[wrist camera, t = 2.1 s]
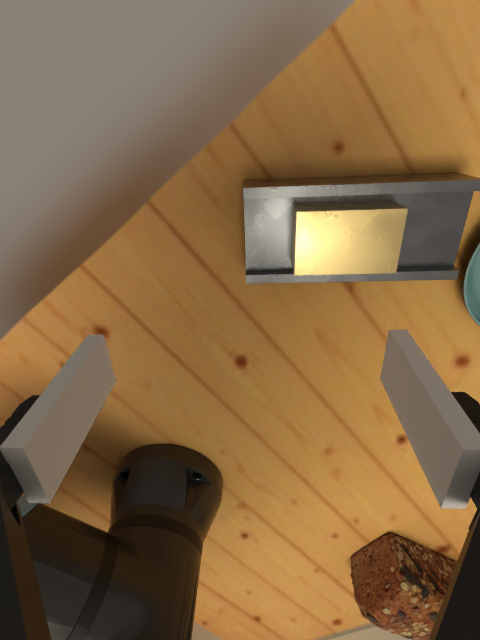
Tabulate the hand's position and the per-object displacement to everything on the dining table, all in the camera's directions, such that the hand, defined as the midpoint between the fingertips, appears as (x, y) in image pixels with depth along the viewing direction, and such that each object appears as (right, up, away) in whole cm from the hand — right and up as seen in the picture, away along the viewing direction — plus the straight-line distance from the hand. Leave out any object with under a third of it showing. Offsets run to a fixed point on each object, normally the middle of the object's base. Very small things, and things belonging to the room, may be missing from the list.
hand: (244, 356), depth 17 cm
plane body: (+9, +10, +16) cm, 21 cm away
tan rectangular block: (+8, +9, +13) cm, 18 cm away
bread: (+28, -38, +42) cm, 63 cm away
